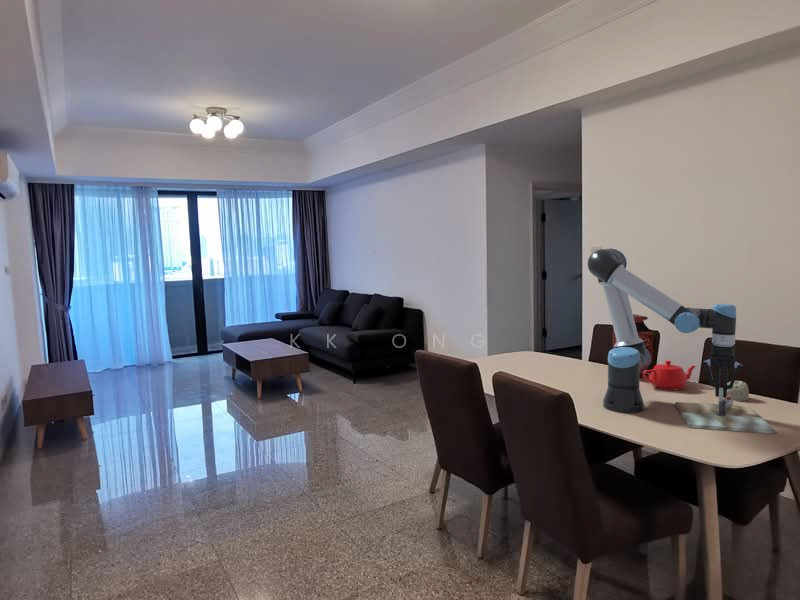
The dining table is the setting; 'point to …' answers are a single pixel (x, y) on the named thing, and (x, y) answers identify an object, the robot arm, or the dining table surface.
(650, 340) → the vase
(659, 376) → the teapot
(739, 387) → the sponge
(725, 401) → the lever
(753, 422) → the lock board
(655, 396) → the dining table surface
